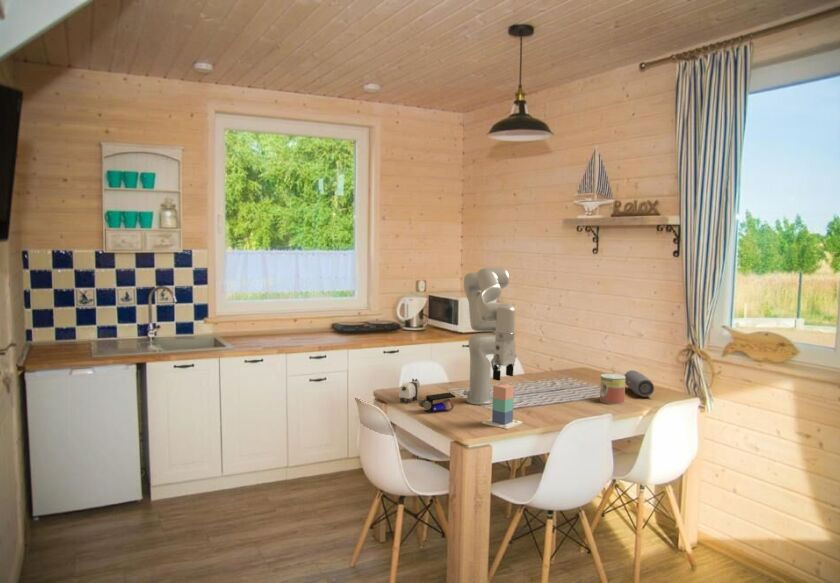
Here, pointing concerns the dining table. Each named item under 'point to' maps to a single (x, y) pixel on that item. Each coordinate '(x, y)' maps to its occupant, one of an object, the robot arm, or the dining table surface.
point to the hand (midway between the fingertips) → (503, 377)
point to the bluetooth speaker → (639, 383)
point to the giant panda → (409, 391)
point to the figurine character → (429, 404)
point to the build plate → (502, 420)
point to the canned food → (612, 389)
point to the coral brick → (503, 391)
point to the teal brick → (502, 405)
